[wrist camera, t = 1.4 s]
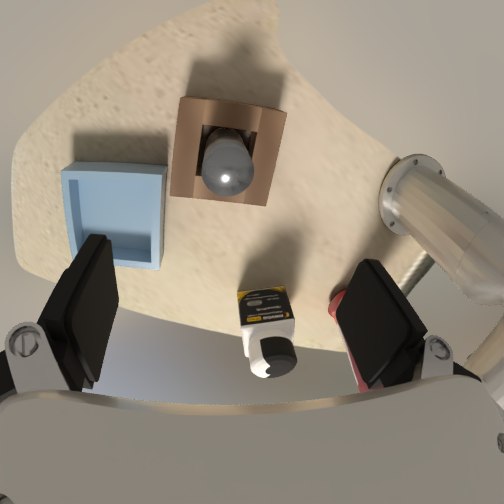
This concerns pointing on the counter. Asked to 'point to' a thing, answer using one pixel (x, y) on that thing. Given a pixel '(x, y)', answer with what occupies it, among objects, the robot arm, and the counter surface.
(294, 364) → the medicine bottle
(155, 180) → the tray
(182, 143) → the hole block
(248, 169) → the peg
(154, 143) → the counter surface
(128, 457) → the robot arm
